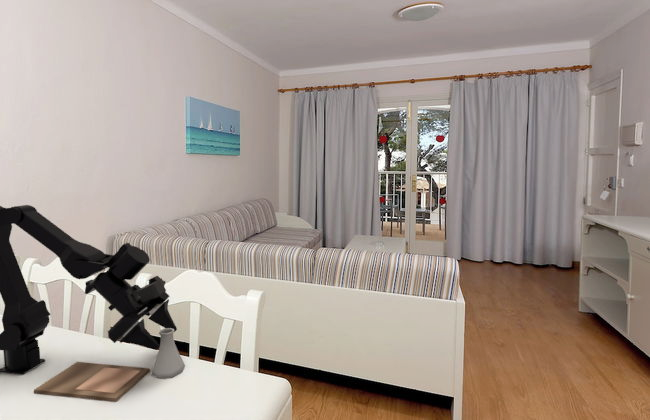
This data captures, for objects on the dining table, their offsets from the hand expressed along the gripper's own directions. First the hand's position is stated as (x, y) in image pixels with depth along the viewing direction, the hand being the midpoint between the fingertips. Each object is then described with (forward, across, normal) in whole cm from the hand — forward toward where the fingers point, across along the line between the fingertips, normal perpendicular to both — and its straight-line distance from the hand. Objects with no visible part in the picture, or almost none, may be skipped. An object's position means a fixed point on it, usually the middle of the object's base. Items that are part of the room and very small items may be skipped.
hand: (167, 339), depth 91 cm
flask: (+6, 0, +6) cm, 8 cm away
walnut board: (-5, -6, +16) cm, 17 cm away
